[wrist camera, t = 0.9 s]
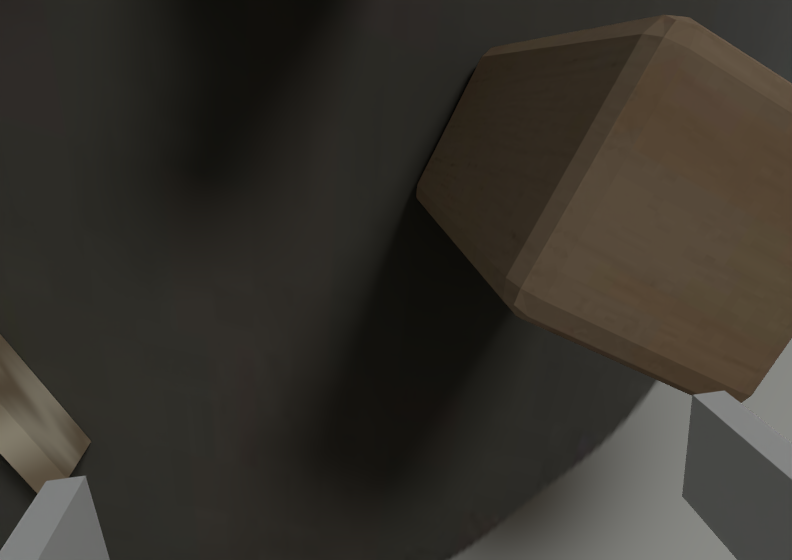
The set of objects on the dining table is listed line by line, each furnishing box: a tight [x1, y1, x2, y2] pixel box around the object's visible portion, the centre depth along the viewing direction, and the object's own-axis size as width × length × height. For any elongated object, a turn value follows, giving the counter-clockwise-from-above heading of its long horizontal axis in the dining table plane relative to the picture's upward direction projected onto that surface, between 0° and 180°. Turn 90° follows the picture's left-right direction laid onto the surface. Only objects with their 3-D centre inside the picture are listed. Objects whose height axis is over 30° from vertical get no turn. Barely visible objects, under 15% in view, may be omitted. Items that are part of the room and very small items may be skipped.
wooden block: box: [416, 15, 792, 403], centre depth 28 cm, size 10×10×20 cm
